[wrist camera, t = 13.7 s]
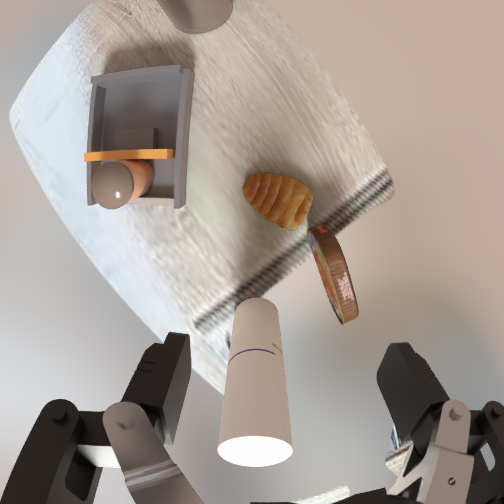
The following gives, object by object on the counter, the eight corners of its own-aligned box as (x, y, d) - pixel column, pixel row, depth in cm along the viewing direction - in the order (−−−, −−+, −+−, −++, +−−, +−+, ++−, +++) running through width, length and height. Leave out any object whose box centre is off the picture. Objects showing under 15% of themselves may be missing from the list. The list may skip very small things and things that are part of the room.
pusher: (103, 132, 34) (85, 131, 29) (179, 128, 34) (168, 124, 29) (102, 159, 35) (84, 161, 31) (177, 157, 35) (166, 158, 31)
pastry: (235, 203, 38) (232, 208, 35) (255, 159, 36) (255, 160, 33) (294, 230, 40) (298, 238, 36) (316, 189, 38) (322, 193, 34)
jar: (119, 157, 35) (90, 162, 28) (155, 156, 35) (131, 160, 28) (120, 196, 37) (92, 208, 30) (154, 196, 37) (131, 209, 30)
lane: (103, 83, 31) (87, 77, 27) (194, 74, 32) (185, 64, 27) (98, 201, 38) (81, 207, 33) (185, 204, 38) (175, 211, 34)
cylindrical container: (245, 290, 43) (234, 428, 19) (286, 307, 44) (307, 443, 20) (227, 324, 45) (207, 457, 22) (266, 338, 46) (270, 470, 23)
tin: (302, 223, 39) (313, 241, 31) (322, 215, 39) (338, 232, 31) (330, 306, 44) (343, 337, 36) (348, 299, 43) (364, 329, 35)
